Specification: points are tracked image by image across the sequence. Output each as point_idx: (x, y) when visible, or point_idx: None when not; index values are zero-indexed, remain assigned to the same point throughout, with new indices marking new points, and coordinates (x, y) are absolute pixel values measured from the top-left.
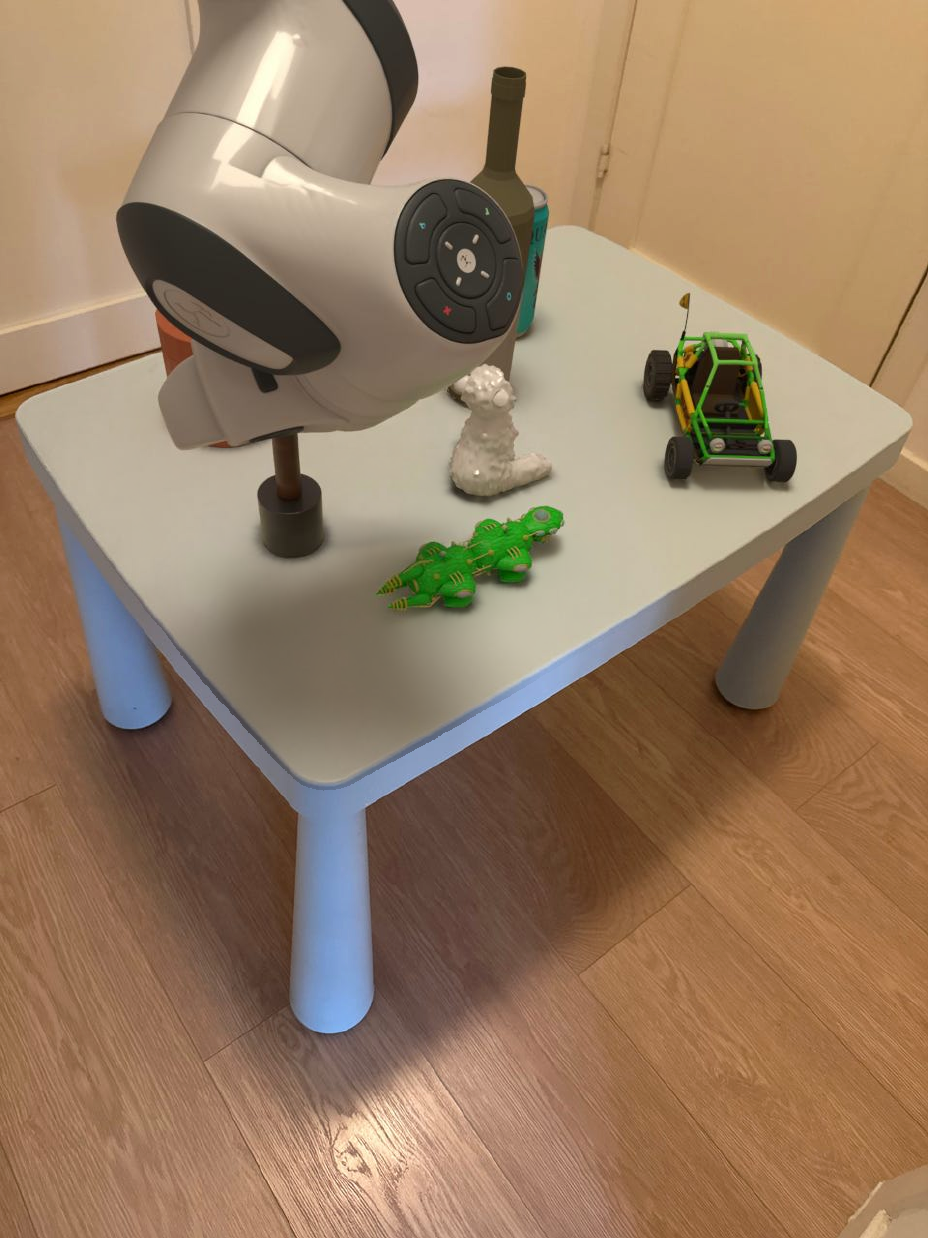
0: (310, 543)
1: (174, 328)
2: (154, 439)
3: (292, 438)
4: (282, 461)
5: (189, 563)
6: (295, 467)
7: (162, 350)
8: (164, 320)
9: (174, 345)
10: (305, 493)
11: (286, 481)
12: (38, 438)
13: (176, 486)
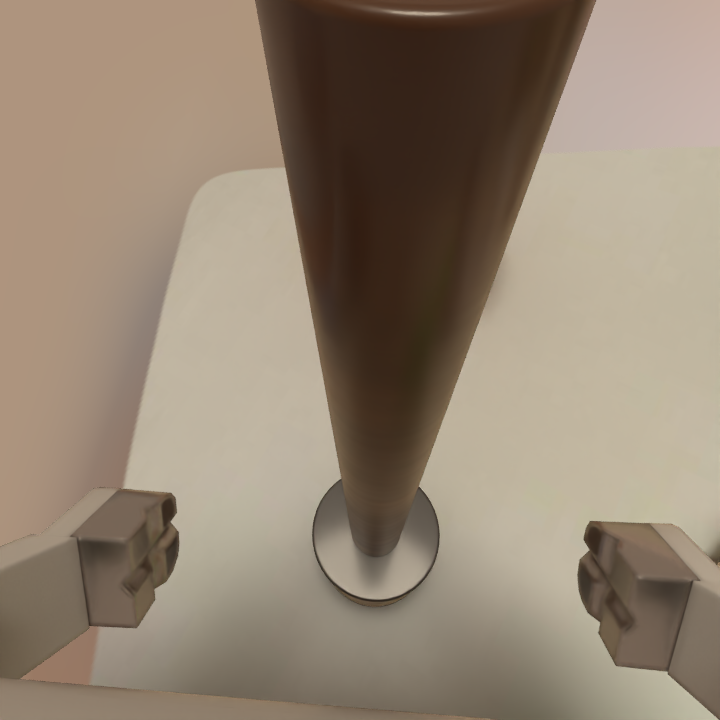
0: (381, 605)
1: None
2: (303, 269)
3: (385, 528)
4: (356, 531)
5: (205, 515)
6: (384, 543)
7: None
8: None
9: None
10: (402, 551)
11: (361, 544)
12: (189, 215)
13: (279, 358)
